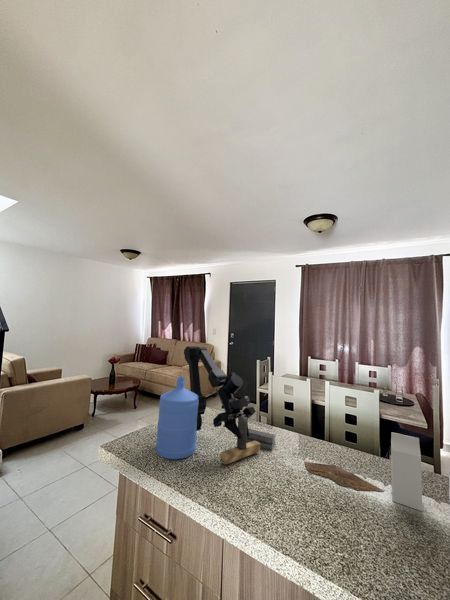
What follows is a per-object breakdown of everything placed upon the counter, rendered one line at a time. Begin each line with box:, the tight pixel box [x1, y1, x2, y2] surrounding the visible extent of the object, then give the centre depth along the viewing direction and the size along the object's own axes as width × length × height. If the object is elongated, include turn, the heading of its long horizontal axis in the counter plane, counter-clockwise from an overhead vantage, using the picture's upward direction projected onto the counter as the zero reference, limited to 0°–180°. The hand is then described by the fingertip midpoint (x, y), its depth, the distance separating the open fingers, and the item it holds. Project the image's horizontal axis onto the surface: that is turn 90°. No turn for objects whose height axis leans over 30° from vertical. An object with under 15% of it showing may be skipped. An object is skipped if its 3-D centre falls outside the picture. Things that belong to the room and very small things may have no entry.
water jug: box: [155, 376, 199, 460], centre depth 100 cm, size 16×16×28 cm
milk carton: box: [390, 432, 423, 512], centre depth 77 cm, size 7×7×19 cm
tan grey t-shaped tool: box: [219, 416, 261, 465], centre depth 96 cm, size 18×4×14 cm, turn 129°
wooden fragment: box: [304, 461, 385, 493], centre depth 87 cm, size 26×11×1 cm, turn 53°
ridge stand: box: [246, 428, 276, 452], centre depth 108 cm, size 12×6×4 cm, turn 66°
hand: (244, 437), depth 95 cm, fingers closed on tan grey t-shaped tool, 4 cm apart
